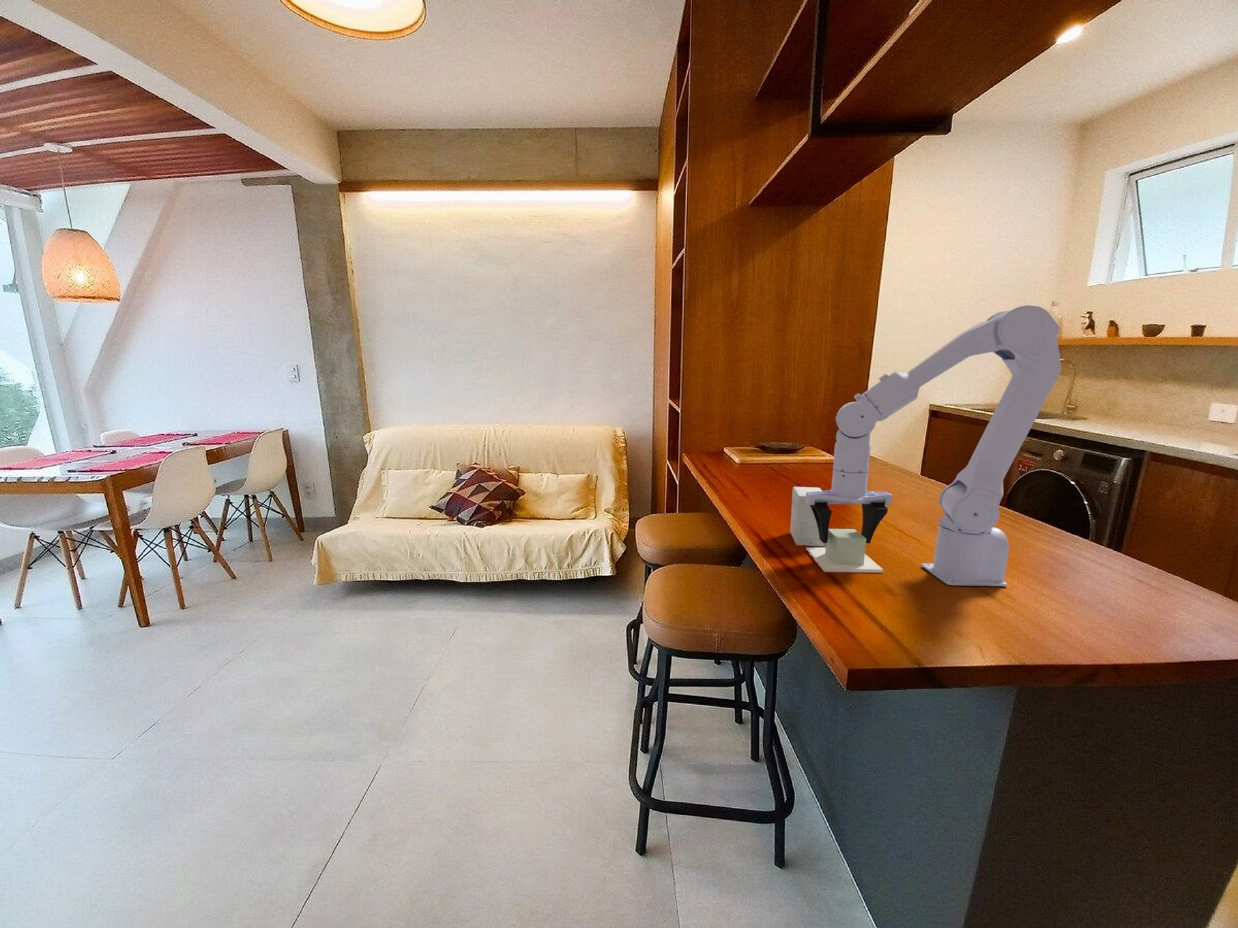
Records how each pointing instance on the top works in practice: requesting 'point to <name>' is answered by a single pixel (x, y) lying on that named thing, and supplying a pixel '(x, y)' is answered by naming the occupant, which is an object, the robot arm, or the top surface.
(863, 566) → the tile
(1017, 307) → the robot arm
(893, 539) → the top surface
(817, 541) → the small box
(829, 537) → the cube
